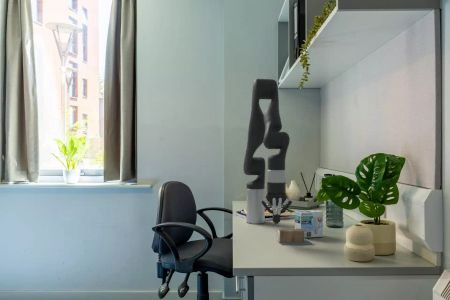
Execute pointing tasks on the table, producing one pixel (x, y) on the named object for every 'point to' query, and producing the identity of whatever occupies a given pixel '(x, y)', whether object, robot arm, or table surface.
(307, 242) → the rubber mat
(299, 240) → the walnut block
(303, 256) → the table surface
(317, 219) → the light bulb box
